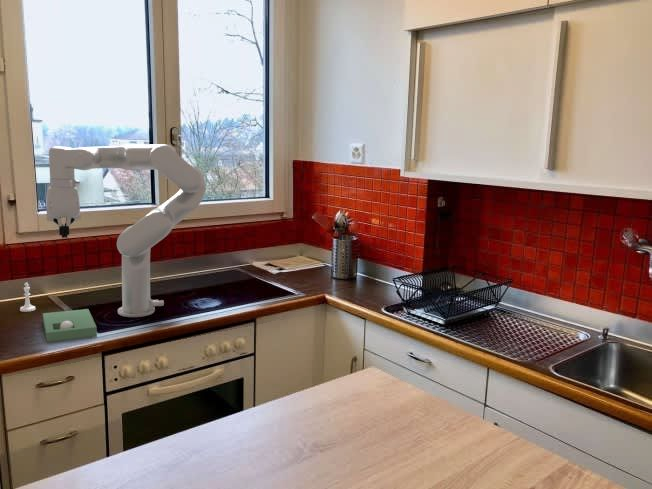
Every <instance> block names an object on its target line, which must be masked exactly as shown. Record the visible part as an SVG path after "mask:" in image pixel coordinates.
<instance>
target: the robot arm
mask: <svg viewBox="0 0 652 489" xmlns="http://www.w3.org/2000/svg"><path fill="white" fill-rule="evenodd" d="M48 161H49V162H48V164H49V165H48V166H49V184H50V185H49V187H47V190H46V205H45V210H46V218H45V220H46V221H47V222H49V221H50V222H54V223H55V224H56V225H57V226H58V233H59V236H61V238H62V239H64V238H66V239H67V238H68V236H70V226H71V224H73V223H74V222H76V221H77V222H78V221H80V220H81V219H82V217H81V208H80V206H81V205H80V197H79V190H78V188H77V187H76V186H77V185H80V180H77V179H75V170H79V171H88V170H89V171H90V170H92V169H94V170H95V169H122V170H124V171H125V170H126V171H144V170H146V171H148V170H152V171H153V170H157V171H158V172H159V173H160V174H161V176H162V175H163V177H165V178H166V179H167V180H168V181H170V182H171V183H172V184H173V185H175V186H176V187H177V188H178V189H179V190H178V191H177V192H176V193H175V194H173V195H172V196H171V197H169V199H167V200H166V201H164V202H163V203H162V204H160V205H158V207H155V208H154V209H151V210H150V211H149V212H148V213H147V214H145V216H144V217H142V218H141V219H139V220H138V221H136V222H135V223H134V224H132V225H130V226H127V228H125V229H124V230H123V231H122V232H121V233H120V234H119V236H118V238H117V239H116V240H117V241H116V248H117V251H118V252H119V253H120V254H121V298H122V299H121V300H122V303H121V304H122V305H121V307H119V308H117V314H118V315H120V316H122V317H127V318H142V317H146V316H150V315H152V314H154V313H155V311H156V309H155V307H162V306H165V305H164V304H165V302H164V300H163V299H161V300H159V299H152V298H151V250H152V249H151V248H153V247H154V246H155V245H157V244H158V243H159V242H161V241H162V240H163V239H164V238H166V237H167V236H168V235H169V234H170V233H171V231H172V230H173V228H174V227H175V226H176V225H177V224H179V223H180V222H181V221H183V220H184V219H186V217H187V216H189V215H191V213H193V212H194V211H195V210H196V209H197V208H198V207H199V206H200V205H201V203H202V201H203V200H204V196H205V193H206V179H205V175H204V173H203V172H202V170H201V169H200V168H198V167H196V166H192V165H191V164H190V163H188V162H187V161H186V160H185V159H184V158H182V157H181V156H180V155H179V154H178V153H177V151H176V149H175V148H174V147H173V146H172V145H170V144H124V145H120V146H119V145H118V146H117V145H116V146H86V147H85V146H84V147H83V146H82V147H75V148H72V147H70V146H51V147H49V150H48ZM62 218H65V223H64V224H63V221H62Z"/></svg>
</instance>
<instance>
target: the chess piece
mask: <svg viewBox="0 0 652 489" xmlns="http://www.w3.org/2000/svg"><path fill="white" fill-rule="evenodd" d="M23 285H24V286H25V287H23V290H24V294H23V296H25V298H24V299H25V300H24V305H22V306H20V308H19V311H20V312H23V313H24V312H32V311H33V312H34V311H35V310H36V309H37V308H36V306H35V305H32V304H31V302H30V300H31V299H30V295H31V293H30V289H31V287H30V283H28V282H27V281H26V282H25V283H24V284H23Z"/></svg>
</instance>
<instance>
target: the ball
mask: <svg viewBox="0 0 652 489" xmlns="http://www.w3.org/2000/svg"><path fill="white" fill-rule="evenodd" d="M66 328H74V325H73V323H72V322H71V321H64V322H62V323H61V325H60V329H66Z"/></svg>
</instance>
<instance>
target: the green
mask: <svg viewBox="0 0 652 489" xmlns="http://www.w3.org/2000/svg"><path fill="white" fill-rule="evenodd" d="M64 321H71V322H72V323H73V325H74V328H66V329H60V325H61V323H62V322H64ZM42 323H43V327H44V333H45V337H46V341H47V343H51V342H52V343H54V342H61V341H68V340H75V339H77V340H78V339H84V338H86V339H87V338H94V337H98V331H97V330H98V329H97V328H98V327H97V325H96V322H95V321H94V318H93V316H92V314H91V312H90V310H89V308H84V309H74V310H65V311H64V310H63V311H54V312H45V313H43V312H42Z"/></svg>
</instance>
